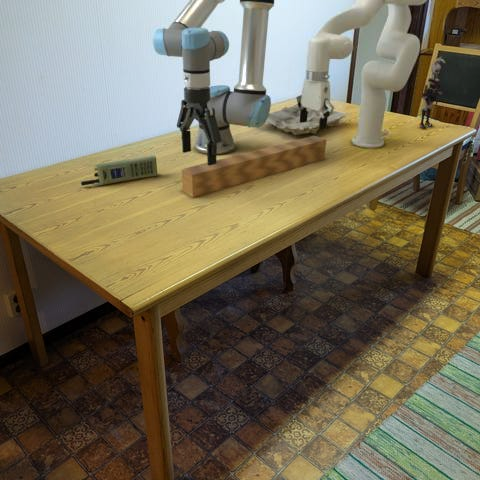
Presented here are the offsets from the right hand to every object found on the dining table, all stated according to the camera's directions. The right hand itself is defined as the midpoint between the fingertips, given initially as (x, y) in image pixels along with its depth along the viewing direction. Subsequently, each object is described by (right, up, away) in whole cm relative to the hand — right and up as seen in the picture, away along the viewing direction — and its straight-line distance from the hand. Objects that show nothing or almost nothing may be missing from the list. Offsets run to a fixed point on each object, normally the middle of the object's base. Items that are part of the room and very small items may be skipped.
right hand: (312, 125), depth 180 cm
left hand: (-38, -16, -26) cm, 49 cm away
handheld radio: (-65, -22, -14) cm, 70 cm away
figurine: (+55, +9, +43) cm, 71 cm away
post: (-19, -18, -7) cm, 28 cm away
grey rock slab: (0, +8, +41) cm, 42 cm away
